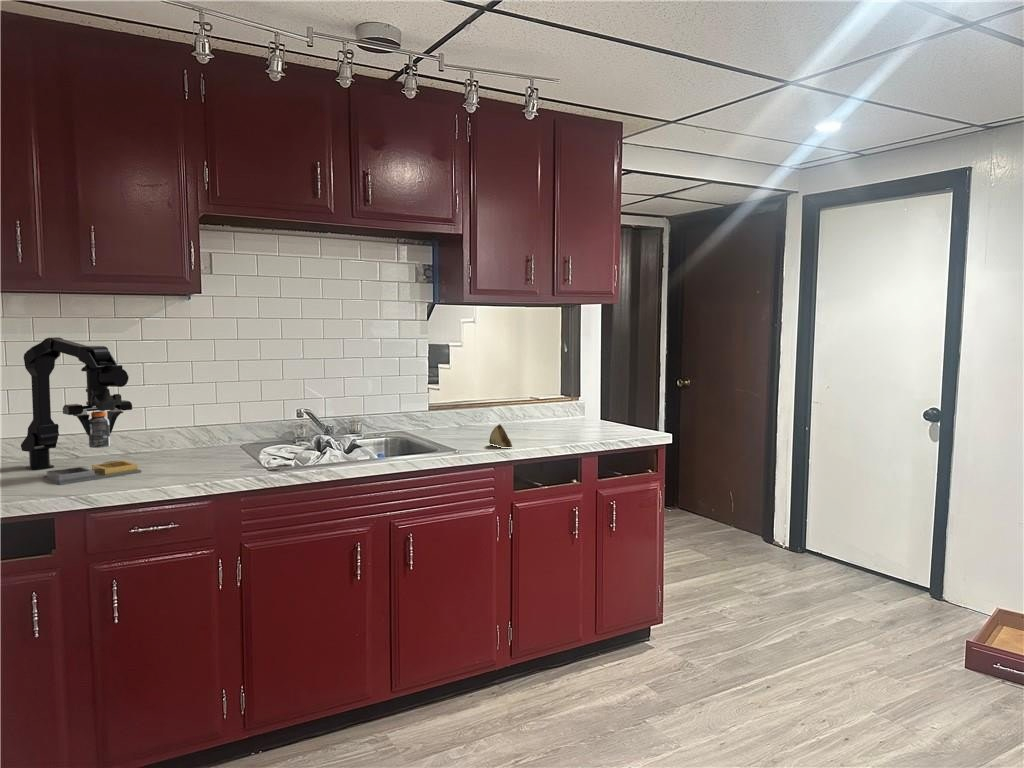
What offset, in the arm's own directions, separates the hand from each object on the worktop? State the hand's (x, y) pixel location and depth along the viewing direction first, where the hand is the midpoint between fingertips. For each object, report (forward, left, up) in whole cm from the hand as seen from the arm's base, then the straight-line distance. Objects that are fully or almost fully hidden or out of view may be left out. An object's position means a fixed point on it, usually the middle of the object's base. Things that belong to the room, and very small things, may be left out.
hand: (99, 434), depth 231 cm
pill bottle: (0, 0, -4) cm, 4 cm away
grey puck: (-10, +8, -13) cm, 19 cm away
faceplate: (0, -2, -13) cm, 13 cm away
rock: (+64, +124, -13) cm, 141 cm away
